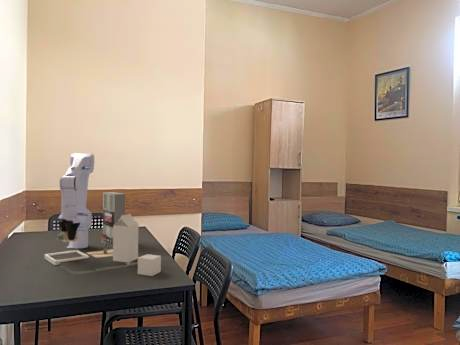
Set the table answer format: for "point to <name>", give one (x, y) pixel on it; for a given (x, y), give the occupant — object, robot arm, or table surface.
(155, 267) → the white cube
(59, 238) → the collar
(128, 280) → the table surface
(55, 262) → the tray
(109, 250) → the tan base plate
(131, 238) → the milk carton
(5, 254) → the table surface
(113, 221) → the tall grey upright box
